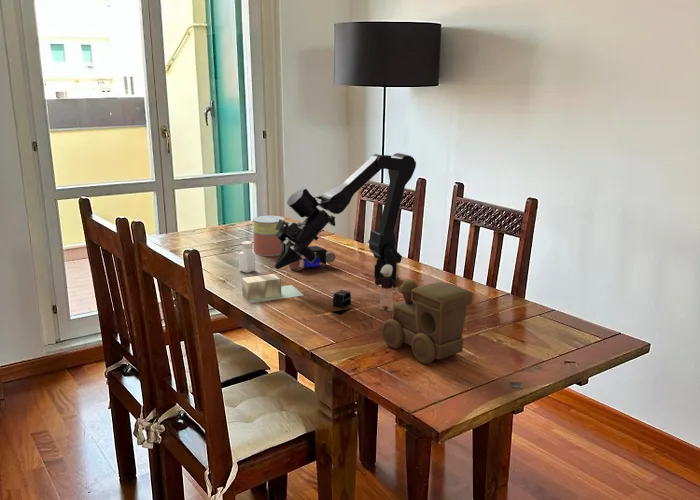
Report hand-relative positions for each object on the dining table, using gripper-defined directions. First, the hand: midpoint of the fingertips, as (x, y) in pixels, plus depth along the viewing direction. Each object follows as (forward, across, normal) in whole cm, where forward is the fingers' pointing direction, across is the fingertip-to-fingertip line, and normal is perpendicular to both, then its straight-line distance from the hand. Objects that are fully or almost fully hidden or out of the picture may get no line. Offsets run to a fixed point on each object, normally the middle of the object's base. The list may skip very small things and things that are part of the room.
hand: (275, 268), depth 188 cm
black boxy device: (-3, +17, +16) cm, 23 cm away
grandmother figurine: (-11, +23, +23) cm, 34 cm away
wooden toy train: (-7, +51, +18) cm, 54 cm away
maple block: (+3, 0, +4) cm, 5 cm away
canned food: (-4, -44, +16) cm, 47 cm away
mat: (+7, 0, +5) cm, 8 cm away
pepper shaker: (+6, -25, +5) cm, 27 cm away
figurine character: (-8, -20, +20) cm, 29 cm away
